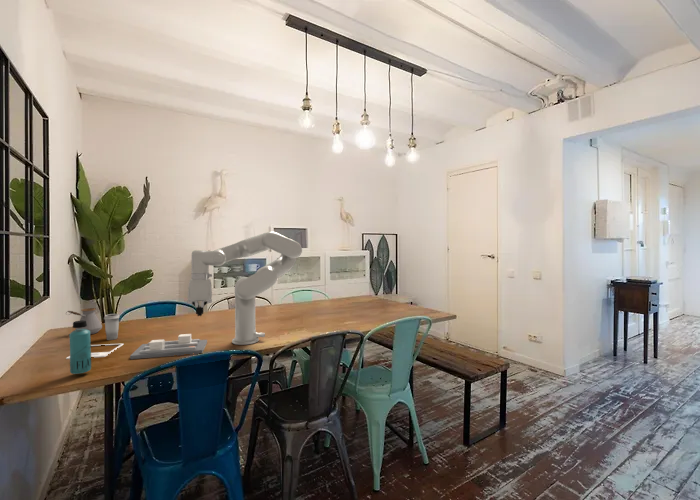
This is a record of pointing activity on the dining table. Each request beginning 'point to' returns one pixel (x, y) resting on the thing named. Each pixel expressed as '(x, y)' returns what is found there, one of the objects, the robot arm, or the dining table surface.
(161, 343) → the switch tab
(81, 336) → the beverage bottle
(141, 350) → the switch panel
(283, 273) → the robot arm
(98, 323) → the coffee pot
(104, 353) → the photo frame
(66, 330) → the dining table surface
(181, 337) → the switch tab
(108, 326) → the cup
